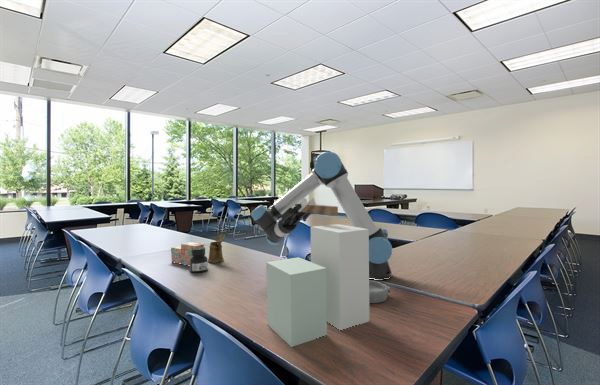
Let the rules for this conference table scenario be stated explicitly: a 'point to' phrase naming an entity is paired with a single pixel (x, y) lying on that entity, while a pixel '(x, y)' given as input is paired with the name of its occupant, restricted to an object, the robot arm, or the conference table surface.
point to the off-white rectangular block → (343, 272)
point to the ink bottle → (198, 260)
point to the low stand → (296, 300)
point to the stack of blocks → (183, 252)
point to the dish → (377, 292)
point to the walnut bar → (320, 209)
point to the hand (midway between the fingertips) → (310, 201)
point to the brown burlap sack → (216, 249)
